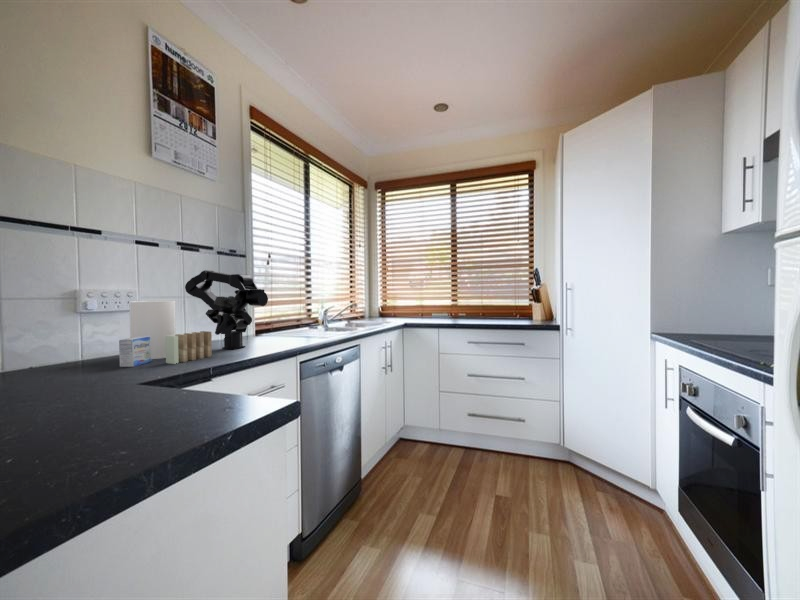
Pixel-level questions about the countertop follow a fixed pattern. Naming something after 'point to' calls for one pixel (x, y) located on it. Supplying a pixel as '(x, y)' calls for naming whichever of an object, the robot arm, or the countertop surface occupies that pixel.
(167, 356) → the tile
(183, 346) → the tile
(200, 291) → the robot arm
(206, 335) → the tile
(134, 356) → the medicine box
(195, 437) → the countertop surface
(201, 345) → the tile
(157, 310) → the canister
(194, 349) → the tile
